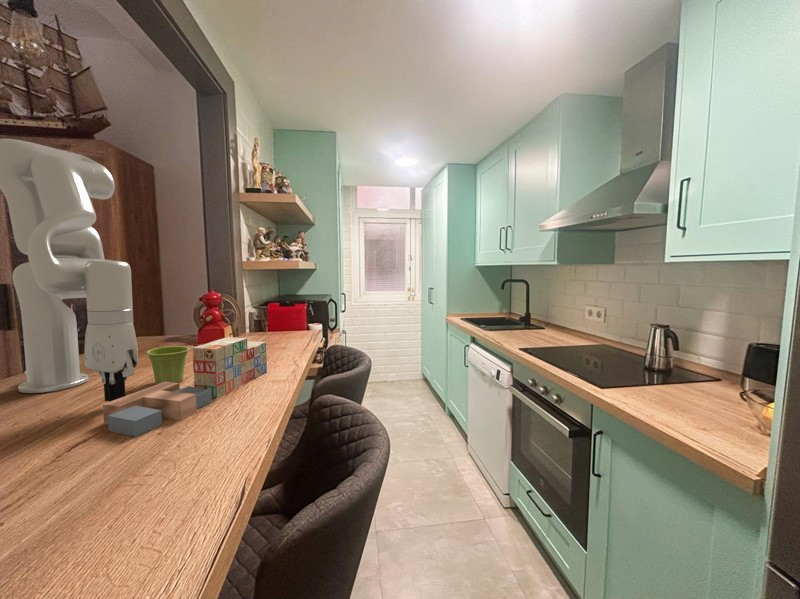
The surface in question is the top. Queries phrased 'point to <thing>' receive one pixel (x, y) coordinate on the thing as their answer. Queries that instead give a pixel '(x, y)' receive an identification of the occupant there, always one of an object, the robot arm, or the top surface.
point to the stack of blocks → (228, 364)
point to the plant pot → (168, 363)
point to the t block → (156, 401)
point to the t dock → (149, 414)
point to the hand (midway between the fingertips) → (115, 399)
